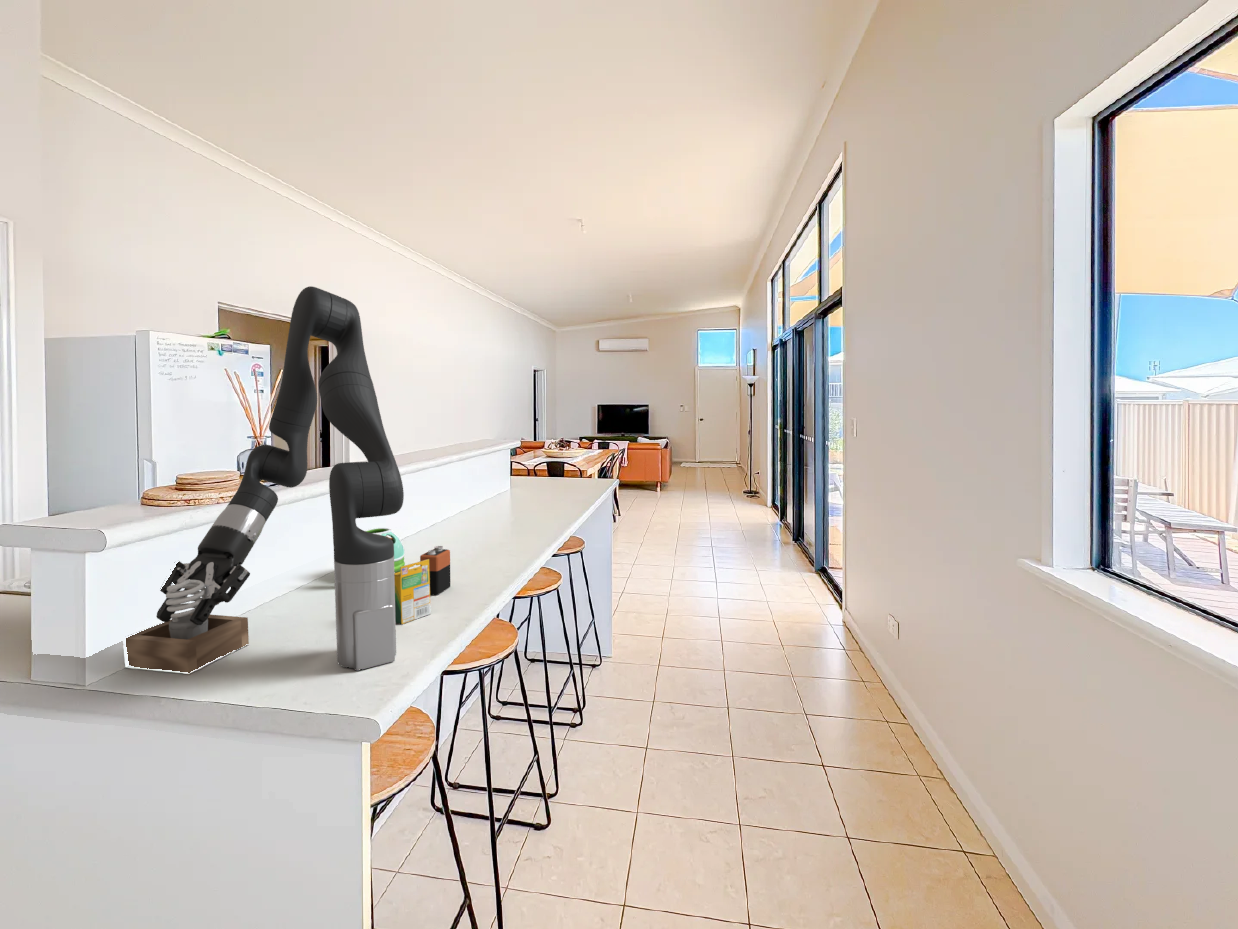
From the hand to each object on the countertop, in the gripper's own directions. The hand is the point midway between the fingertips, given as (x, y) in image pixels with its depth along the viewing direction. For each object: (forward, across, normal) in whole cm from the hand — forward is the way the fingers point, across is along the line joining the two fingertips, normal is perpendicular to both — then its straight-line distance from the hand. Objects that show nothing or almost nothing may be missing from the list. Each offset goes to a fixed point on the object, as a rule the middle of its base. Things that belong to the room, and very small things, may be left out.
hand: (178, 621), depth 97 cm
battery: (-26, +23, +36) cm, 50 cm away
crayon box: (-13, +27, +23) cm, 38 cm away
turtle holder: (-29, +4, +40) cm, 50 cm away
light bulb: (+3, 0, +5) cm, 6 cm away
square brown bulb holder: (+4, 0, +6) cm, 7 cm away
